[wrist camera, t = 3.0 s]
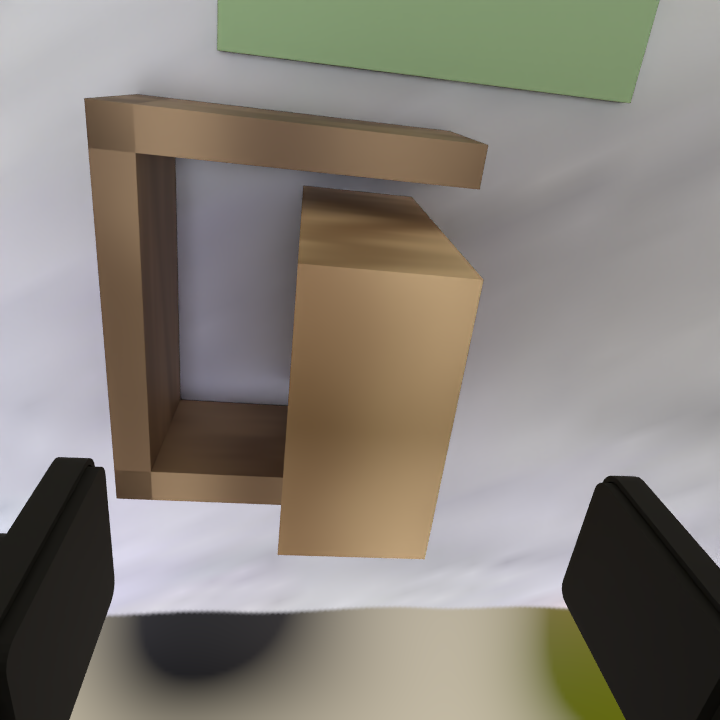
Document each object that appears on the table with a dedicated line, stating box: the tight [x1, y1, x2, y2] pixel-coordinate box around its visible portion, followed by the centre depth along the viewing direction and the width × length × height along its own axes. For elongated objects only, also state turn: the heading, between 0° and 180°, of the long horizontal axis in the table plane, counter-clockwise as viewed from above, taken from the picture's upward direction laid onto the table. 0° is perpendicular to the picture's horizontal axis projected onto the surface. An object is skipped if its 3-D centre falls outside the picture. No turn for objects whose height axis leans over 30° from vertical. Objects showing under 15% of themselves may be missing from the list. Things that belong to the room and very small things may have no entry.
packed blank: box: [278, 186, 483, 559], centre depth 19 cm, size 4×8×10 cm, turn 174°
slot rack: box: [84, 94, 488, 505], centre depth 20 cm, size 11×13×5 cm
